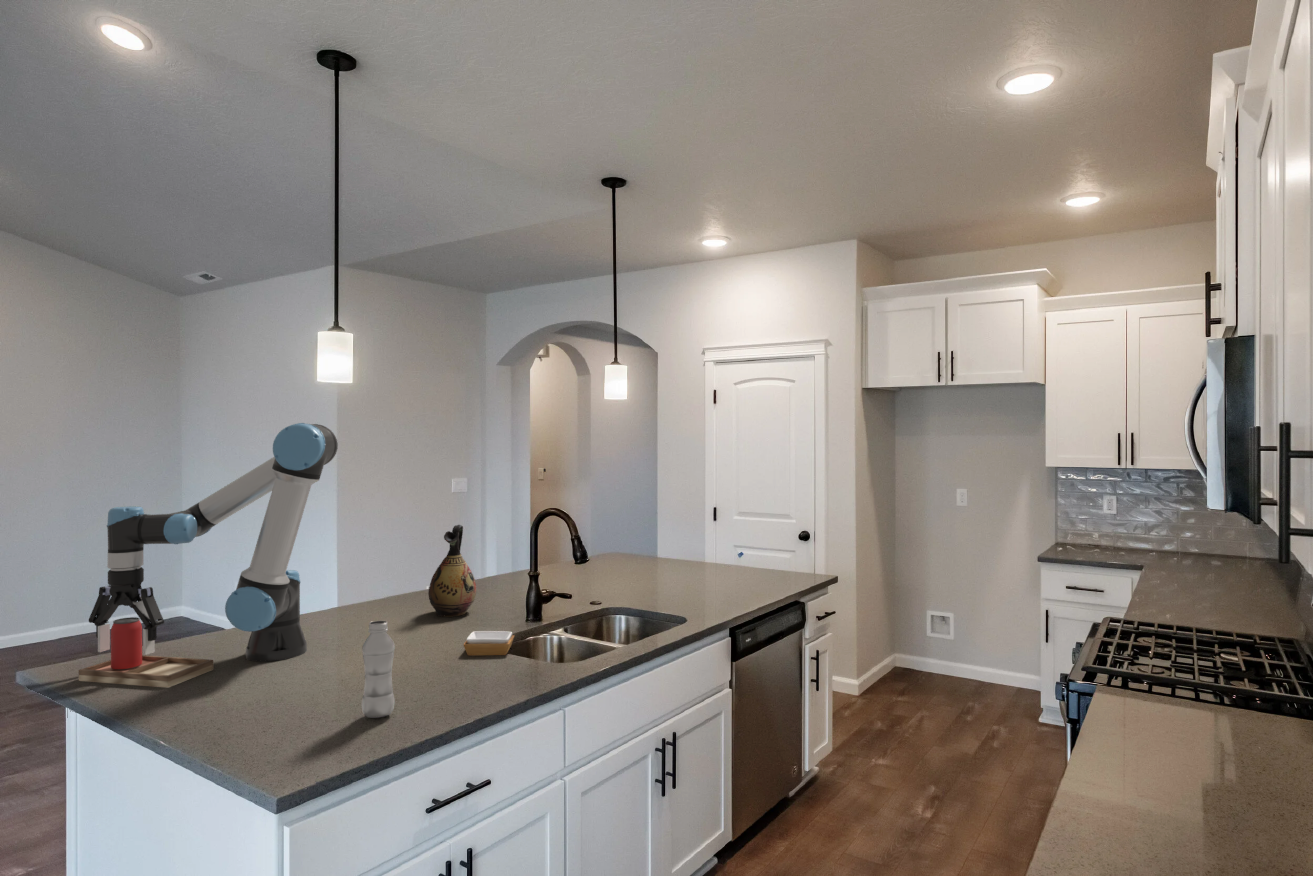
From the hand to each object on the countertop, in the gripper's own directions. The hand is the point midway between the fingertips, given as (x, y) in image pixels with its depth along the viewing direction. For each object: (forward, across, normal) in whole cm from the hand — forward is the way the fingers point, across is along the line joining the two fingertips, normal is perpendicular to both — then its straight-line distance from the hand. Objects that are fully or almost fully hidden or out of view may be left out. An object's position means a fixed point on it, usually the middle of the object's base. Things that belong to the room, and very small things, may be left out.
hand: (126, 652), depth 195 cm
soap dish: (+6, -82, -36) cm, 90 cm away
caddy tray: (+6, -6, 0) cm, 8 cm away
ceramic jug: (+6, -51, -76) cm, 92 cm away
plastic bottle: (+6, -79, +14) cm, 81 cm away
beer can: (+4, 0, 0) cm, 4 cm away
